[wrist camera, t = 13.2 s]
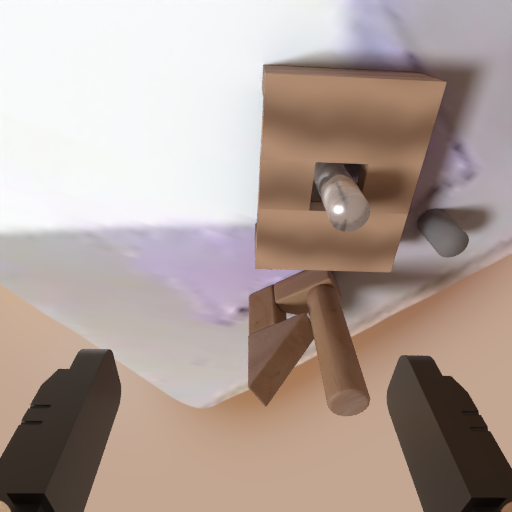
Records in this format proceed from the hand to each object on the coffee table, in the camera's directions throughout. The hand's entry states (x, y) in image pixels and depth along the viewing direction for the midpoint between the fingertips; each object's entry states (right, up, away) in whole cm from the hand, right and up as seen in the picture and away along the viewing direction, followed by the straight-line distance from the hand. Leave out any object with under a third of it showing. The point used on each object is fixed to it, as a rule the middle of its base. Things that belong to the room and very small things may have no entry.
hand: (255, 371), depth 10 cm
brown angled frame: (+5, -1, +36) cm, 37 cm away
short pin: (+20, +7, +31) cm, 38 cm away
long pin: (+7, +13, +28) cm, 31 cm away
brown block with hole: (+7, +13, +28) cm, 31 cm away
